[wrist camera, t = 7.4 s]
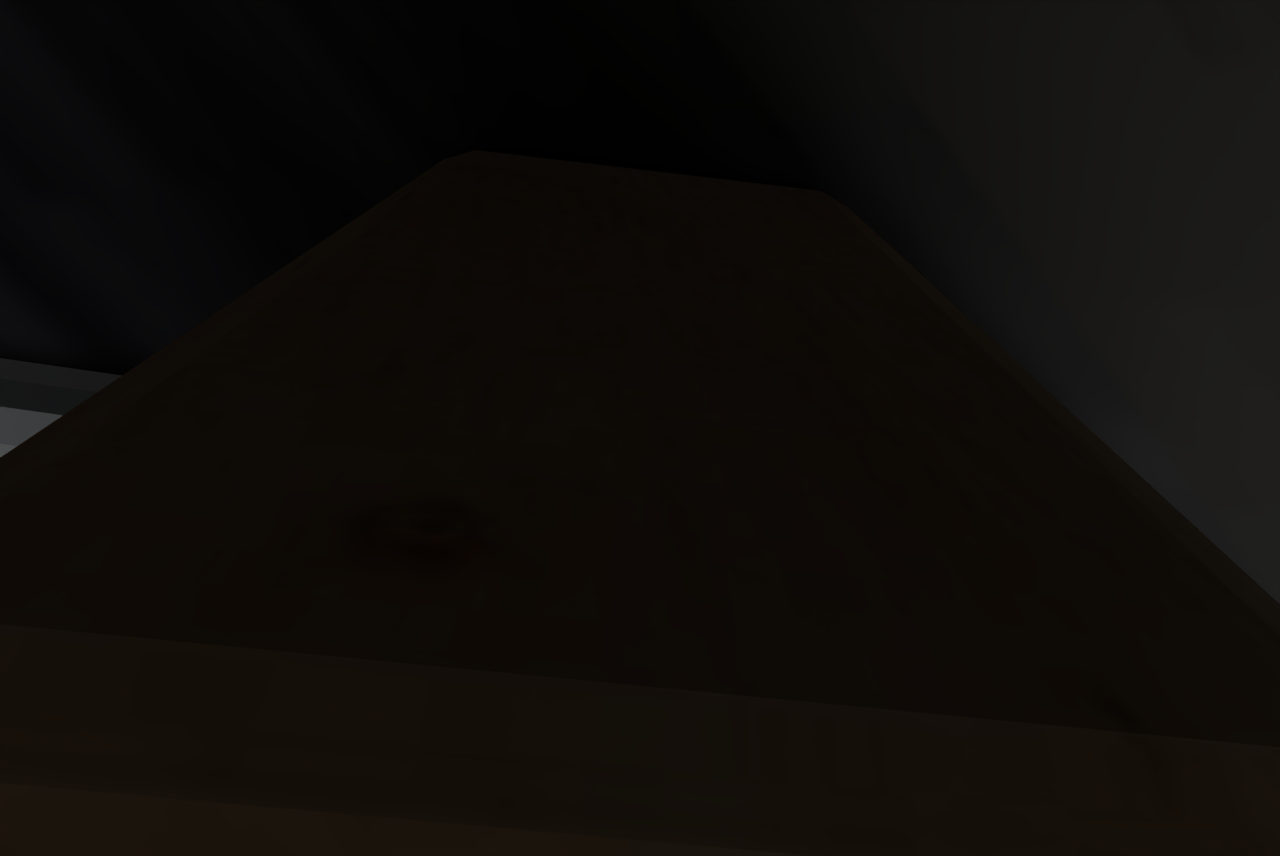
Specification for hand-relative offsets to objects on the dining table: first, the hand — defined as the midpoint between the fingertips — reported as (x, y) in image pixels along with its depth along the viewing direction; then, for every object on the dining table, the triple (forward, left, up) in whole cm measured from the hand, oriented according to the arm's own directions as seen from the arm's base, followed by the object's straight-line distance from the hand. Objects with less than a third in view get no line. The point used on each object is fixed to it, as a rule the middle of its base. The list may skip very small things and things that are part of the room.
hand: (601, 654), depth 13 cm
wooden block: (0, 0, -12) cm, 12 cm away
